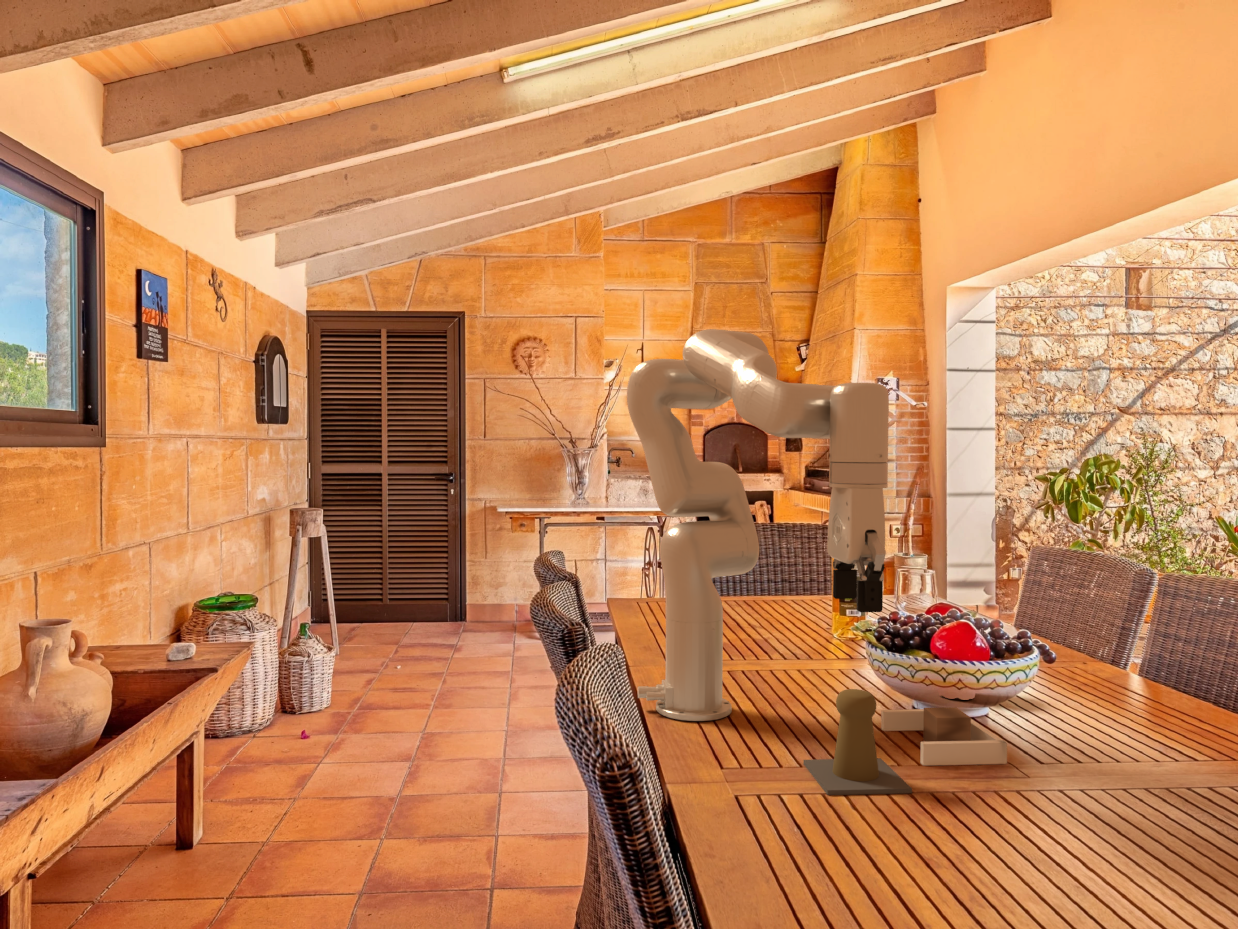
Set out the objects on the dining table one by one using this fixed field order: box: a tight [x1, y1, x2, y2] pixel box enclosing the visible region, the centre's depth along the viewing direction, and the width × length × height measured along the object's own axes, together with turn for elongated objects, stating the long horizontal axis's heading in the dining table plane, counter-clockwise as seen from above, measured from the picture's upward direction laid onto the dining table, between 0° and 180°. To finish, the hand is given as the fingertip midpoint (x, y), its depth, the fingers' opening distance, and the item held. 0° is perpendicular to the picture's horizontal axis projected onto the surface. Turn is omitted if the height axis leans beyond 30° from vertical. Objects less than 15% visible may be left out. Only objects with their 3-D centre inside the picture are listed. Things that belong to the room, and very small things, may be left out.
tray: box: [880, 708, 1008, 766], centre depth 131 cm, size 12×16×3 cm
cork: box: [832, 688, 879, 781], centre depth 118 cm, size 6×6×11 cm
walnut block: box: [922, 706, 972, 742], centre depth 131 cm, size 5×5×5 cm
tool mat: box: [803, 757, 913, 796], centre depth 118 cm, size 11×11×1 cm
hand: (856, 604), depth 117 cm, fingers open, 9 cm apart
